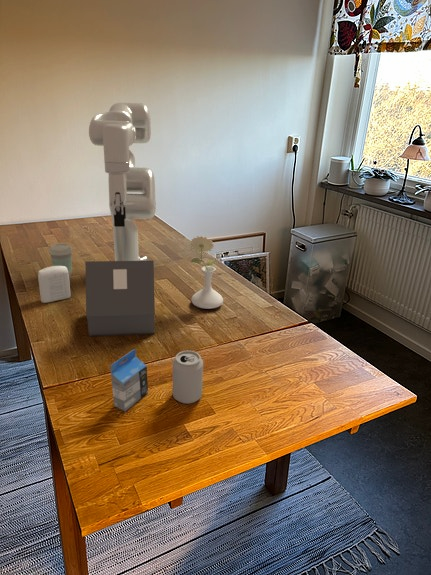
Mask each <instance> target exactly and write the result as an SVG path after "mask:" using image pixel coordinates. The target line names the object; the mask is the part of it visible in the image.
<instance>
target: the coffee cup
mask: <svg viewBox="0 0 431 575" xmlns="http://www.w3.org/2000/svg"><path fill="white" fill-rule="evenodd" d="M48 253H49V255H50V258H51V263H52V266H66V267H67V270H68V273H69V278H70V277H71V276H72V253H73V249H72V247H71V245H70V244H67V243H55V244H52V245H50V247H49V250H48Z"/></svg>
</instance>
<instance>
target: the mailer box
mask: <svg viewBox="0 0 431 575" xmlns="http://www.w3.org/2000/svg"><path fill="white" fill-rule="evenodd" d="M86 320H87V330H88V337H108V336H109V337H110V336H132V335H133V336H135V335H155V314H150V315H119V316H89V317H86Z"/></svg>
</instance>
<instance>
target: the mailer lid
mask: <svg viewBox="0 0 431 575" xmlns="http://www.w3.org/2000/svg"><path fill="white" fill-rule="evenodd" d="M84 266H85V316H86V318H87V317H89V316H119V315H150V314H154V315H155V314H156V311H155V310H156V309H155V308H156V307H155V305H156V304H155V303H156V302H155V269H154V268H155V267H154V260H152V259H151V260H147V261H115V260H108V261H107V260H98V261H96V260H95V261H85V264H84Z"/></svg>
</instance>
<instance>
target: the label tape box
mask: <svg viewBox="0 0 431 575" xmlns="http://www.w3.org/2000/svg"><path fill="white" fill-rule="evenodd" d="M136 350H137V348H135V349H132V350H130V351H129V352H128V353H126V354H125V355H124V356H122V357H120V358H118V360H116V361H114V362H113V363H112V364H110V376H111V377H110V378H111V379H110V380H111V388H112V396H113V407H114V408H115V407H116V408H117V409H119V410H121V411H124V412H127V411H128V410H129V409H131V407H132V406H134V405H135V404H136V403H137V402H139V401H140V400H141V399H142V398H144V397H145V396H146V394H148V393H149V383H148V382H149V380H148V367H147V365H146V364H145V363H144V362H143V361H141V359H139V357H137V356H136V353H137V351H136ZM124 360H125V361H124Z"/></svg>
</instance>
